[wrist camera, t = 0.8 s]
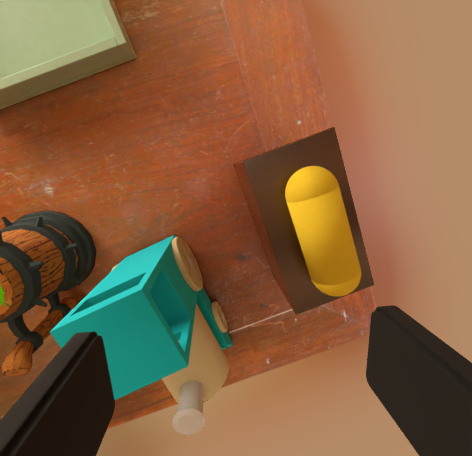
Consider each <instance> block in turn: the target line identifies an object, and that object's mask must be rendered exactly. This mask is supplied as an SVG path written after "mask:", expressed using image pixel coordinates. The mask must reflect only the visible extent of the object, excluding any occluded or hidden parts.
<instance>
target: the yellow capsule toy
mask: <svg viewBox="0 0 472 456" xmlns="http://www.w3.org/2000/svg"><path fill="white" fill-rule="evenodd" d="M285 198H286V202H287V205H288V208H289V211H290V214H291V218H292V221H293V224H294V227H295V230H296V233H297V236H298V240H299V243H300V246H301V249H302V252H303V255H304V258H305V262H306V265H307V268H308V271H309V274H310V277H311V280H312V282H313V284H314V285H315V286H316V288H318V289H319V290H320V291H321V292H323V293H325V294H327V295H330V296H337V297H338V296H344V295H347V294H349V293H351V292H352V291H354V290H355V288H356V287H357V286H358V284H359V282H360V279H361V268H360V264H359V260H358V256H357V252H356V249H355V245H354V241H353V237H352V233H351V230H350V226H349V222H348V218H347V214H346V211H345V207H344V203H343V199H342V195H341V191H340V188H339V184H338V181H337V179H336V178H335V176H334V175H333V174H332V173H331V172H330V171H328V170H327V169H325V168H322V167H319V166H308V167H304V168H302V169H300V170H298V171H297V172H295V173H294V174H293V175H292V176H291V177H290V179H289V180H288V183H287V185H286V189H285Z"/></svg>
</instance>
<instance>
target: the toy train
mask: <svg viewBox="0 0 472 456" xmlns="http://www.w3.org/2000/svg"><path fill="white" fill-rule="evenodd" d="M227 331H228V323H227V320H226V317H225V314H224V312H223V310H222V308H221V306H220V305H219V303H218V302H217V301H215V302H213V303H211V301H210V299H209V297H208V295H207V293H206V292H205V290H204V288H203V280H202V275H201V272H200V269H199V266H198V264H197V261H196V259H195V257H194V255H193V253H192V251H191V249H190V248H189V246H188V245H187V243H186V242H185V241H184V240H183V239H182V238H181V237H179V236H178V237H176V236H175V235H173V236H170V237H168V238H166V239H164V240H162V241H160V242H158V243H155V244H153V245H151V246H149V247H147V248H145V249H143V250H140V251H138V252H136V253H134V254H132V255H130V256H127V257H125V258H124V259H123V260H122V261H121V262H120V263H119V264H117V265H115V266H114V267H113V268H112V270H111V272H110V273H109V274H108V275H107V276H106V277H105V278H104V279H103V280H102V281H101V282H100V283H99V284H98V285H97V286H96V287H95V288H94V289H93V290H92V291H91V292H90V293H89V294H88V295H87V296H86V297H85V298H84V299H83V300H82V301H80V302H79V303H78V304H77V305H76V306H75V307H74V308H73V309H72V310H71V311H70V312H69V313H68V314H67V315H66V316H65V317H64V318H63V319H62V320H61V321H60V322H59V323H58V324H57V325H56V326H55V327H54V328H53V329H52V330H51V331H50V333H51V335H52V336H53V337H54V339H55V340H56V341H57V343H58V344H59V345H60V347H61V348H63V347H64V345H65V344H66V343H67V342H68V341H69V340H70V338H71V337H72V336H73V335H74V334H76V333H82V332H96V333H97V335H98V336H102V338H103V342H104V347H105V353H106V358H107V363H108V368H109V374H110V379H111V384H112V390H113V395H114V400H116V399H118V398H120V397H123V396H125V395H127V394H129V393H131V392H133V391H136V390H138V389H140V388H142V387H144V386H147V385H149V384H151V383H153V382H155V381H158V380H160V379H162V381H163V382H164V384H165V385H166V387H167V388H168V390H169V391H170V393H171V394H172V396H173V398H174V399H175V401H176V402H177V403H178V409H177V413H176V414H175V416H174V418H173V427H174V429H175V430H176V431H177V432H178V433H180V434H183V435H192V434H196V433H197V432H199V431H200V430H201V429H202V428H203V427H204V425H205V417H204V415H203V403H204V402H206V401H208V400H209V399H210V398H212V397H213V396H214V395H215V394H216V393H217V392H218V391H219V389H220V388H221V387H222V385H223V384H224V382H225V380H226V378H227V375H228V370H229V363H228V360H227V358H226V356H225V354H224V352H223V351H222V350H223V349H225V348H228V347H230V346H232V345H234V344H233V342H232V340H231V338H230V336H229V335H228V333H227Z"/></svg>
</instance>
